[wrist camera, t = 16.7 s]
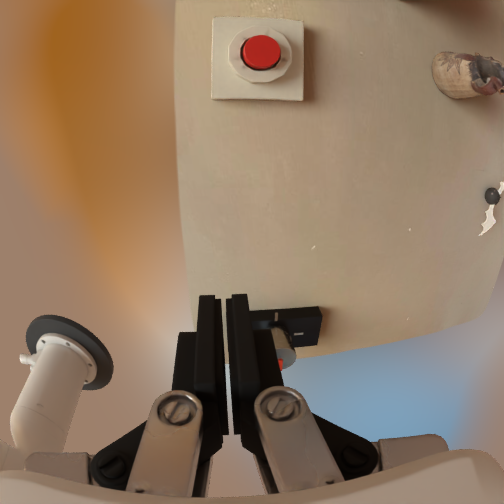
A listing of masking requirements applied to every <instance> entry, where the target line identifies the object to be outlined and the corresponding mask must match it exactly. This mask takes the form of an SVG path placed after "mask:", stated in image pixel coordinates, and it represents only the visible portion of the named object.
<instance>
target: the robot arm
mask: <svg viewBox="0 0 504 504" xmlns="http://www.w3.org/2000/svg"><path fill="white" fill-rule="evenodd" d="M226 313H227V333H228V352H229V369H230V384H231V399H232V413H233V426H234V434H235V435H237V434H241V442H242V446H243V447H244V448H246V449H247V450H248V451H250V452H251V453H253V457H254V460H255V463H256V466H257V469H258V473H259V476H260V479H261V482H262V485H263V488H264V491H265V494H266V495H258V496H247V497H246V496H245V497H221V498H207V497H208V489H209V483H210V475H211V470H212V463H213V455H214V454H215V453H216V452H217V451H218V450H220V449H221V448H222V443H223V435H229V429H228V412H227V395H226V376H225V375H226V374H225V354H224V339H223V324H222V308H221V299H215V295H200V296H199V307H198V320H197V332H180V333H179V336H178V343H177V350H176V358H175V366H174V374H173V383H172V391H169V392H166V393H165V394H162V395H160V396H159V397H158V398H157V399H156V400H155V402H154V403H153V406H152V408H151V411H150V414H149V417H148V420H147V421H145V422H144V423H142V424H141V425H139V426H138V427H136V428H135V429H133V430H132V431H130V432H129V433H127V434H126V435H124V436H123V437H121V438H119V439H118V440H116V441H115V442H113V443H112V444H110V445H108V446H107V447H105V448H104V449H102V450H101V451H99V452H98V453H97V454H96V455H89V454H88V453H87V452H85V453H63V449H64V445H65V442H66V438H67V434H68V431H69V428H70V424H71V421H72V418H73V415H74V412H75V408H76V406H77V402H78V399H79V397H80V394H81V391H82V388H83V385H84V384H88V383H90V382H92V381H93V380H94V379H95V377H96V374H97V365H96V363H95V360H94V359H93V357H92V356H91V354H90V353H89V352H88V351H87V350H86V349H85V348H84V347H83V346H82V345H81V344H79V343H78V342H76V341H75V340H73V339H71V338H69V337H67V336H65V335H61V334H57V333H47V334H44V335H42V336H41V337H40V339H39V340H38V342H37V345H36V350H37V353H36V354H33V355H32V356H31V355H29V354H21V355H20V361H21V363H23V364H31V367H30V370H31V374H30V375H29V377H28V379H27V381H26V384H25V386H24V388H23V390H22V392H21V394H20V396H19V398H18V401H17V403H16V405H15V407H14V409H13V411H12V414H11V418H10V428H11V433H12V436H13V439H14V443H15V445H16V448H17V449H16V448H14V447H12V446H11V445H8V444H7V443H5V442H4V441H2V440H1V439H0V504H504V470H503V469H502V468H501V466H500V465H499V463H498V462H497V461H496V460H495V459H494V458H493V457H492V456H491V455H489V454H488V453H486V452H483V451H480V450H472V449H459V450H452V451H449V449H448V445H447V443H446V441H445V440H444V439H443V438H442V437H441V436H438V435H436V434H426V435H418V436H410V437H400V438H389V439H379V440H378V442H369V441H368V440H366V439H364V438H362V437H360V436H358V435H356V434H354V433H352V432H349V431H347V430H345V429H343V428H341V427H339V426H337V425H335V424H333V423H331V422H329V421H327V420H325V419H323V418H321V417H319V416H317V415H315V414H313V413H312V412H311V411H310V409H309V407H308V405H307V403H306V400H305V399H304V397H303V396H302V395H301V394H300V393H299V392H298V391H296V390H295V389H292V388H290V387H285V386H284V383H283V379H282V375H281V370H280V366H279V361H278V357H277V353H276V348H275V344H274V340H273V335H272V331H271V329H256V330H252V324H251V317H250V311H249V304H248V297H247V294H232V298H231V299H226Z"/></svg>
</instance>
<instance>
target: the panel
mask: <svg viewBox="0 0 504 504" xmlns="http://www.w3.org/2000/svg"><path fill="white" fill-rule="evenodd" d="M250 317H251V324H252V330H256V329H265V328H267V327H268V326H271V325H283V326H285V327H286V328H287V329H288V330H289V332H290V336H291V339H292V342H293V346H294V348H295V347H305V346H314V345H317V343H318V338H319V333H320V328H321V322H322V317H323V316H322V314H321V311H320V309H319V307H318V306H317V307H304V308H290V309H275V310H258V311H250ZM226 321H227V313H226ZM227 340H228V333H227Z"/></svg>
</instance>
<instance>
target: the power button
mask: <svg viewBox="0 0 504 504" xmlns="http://www.w3.org/2000/svg"><path fill="white" fill-rule="evenodd" d="M280 53H281V51H280V46H279V44H278V43H277V42H276V40H274V39H273V38H271V37H269V36H266V35H257V36H254V37H252V38H250V39H249V40H248V41H247V42H246V44H245V46H244V49H243V58H244V60H245V62H246V63H247V64H248V65H249V66H251V67H253V68H255V69H266V68H269V67H271V66H272V65H273V64H275V63H276V62H277V60H278V59H279V57H280Z"/></svg>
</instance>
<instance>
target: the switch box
mask: <svg viewBox="0 0 504 504" xmlns="http://www.w3.org/2000/svg"><path fill="white" fill-rule="evenodd" d="M257 35H266V36H269V37H271V38H273V39H274V40H276V42H277V43H278V44H279V46H280V51H281V53H280V57H279V59H278V60H277V62H276V63H275V64H273V65H272V66H271V67H269V68H266V69H255V68H253V67H251V66H249V65H248V64H247V63H246V62H245V60H244V58H243V49H244V46H245V44H246V42H247V41H248V40H249V39H250V38H252V37H254V36H257ZM303 81H304V22H303V21H298V20H289V19H278V18H263V17H213V24H212V88H211V98H212V100H239V99H243V100H282V101H303Z"/></svg>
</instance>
